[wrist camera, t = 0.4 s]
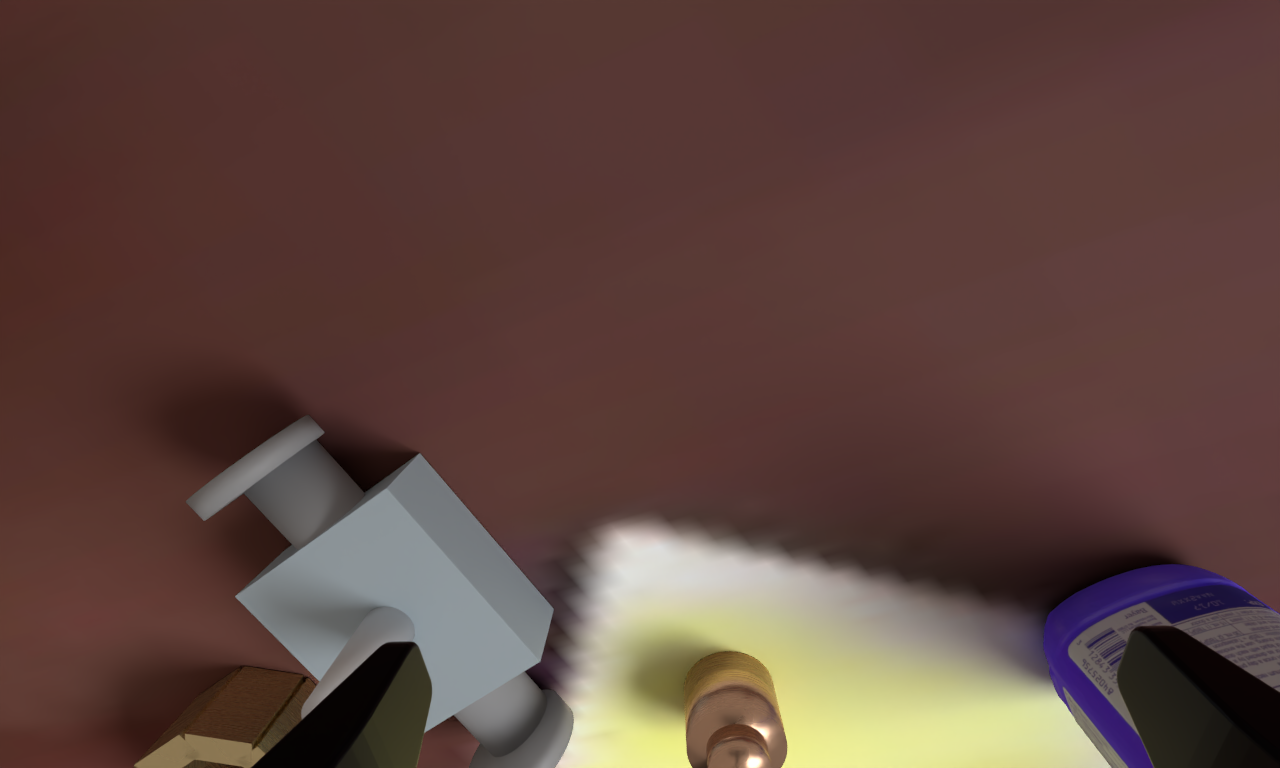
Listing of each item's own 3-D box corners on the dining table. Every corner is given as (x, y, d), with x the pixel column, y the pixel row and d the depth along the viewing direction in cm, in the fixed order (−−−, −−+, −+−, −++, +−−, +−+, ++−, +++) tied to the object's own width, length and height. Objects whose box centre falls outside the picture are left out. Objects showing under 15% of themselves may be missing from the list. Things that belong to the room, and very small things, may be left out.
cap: (716, 739, 27) (725, 828, 23) (666, 679, 26) (667, 761, 22) (790, 698, 26) (812, 783, 23) (740, 635, 26) (755, 712, 22)
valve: (605, 669, 26) (586, 832, 19) (472, 749, 27) (411, 927, 21) (357, 380, 23) (232, 454, 16) (220, 484, 24) (53, 593, 18)
